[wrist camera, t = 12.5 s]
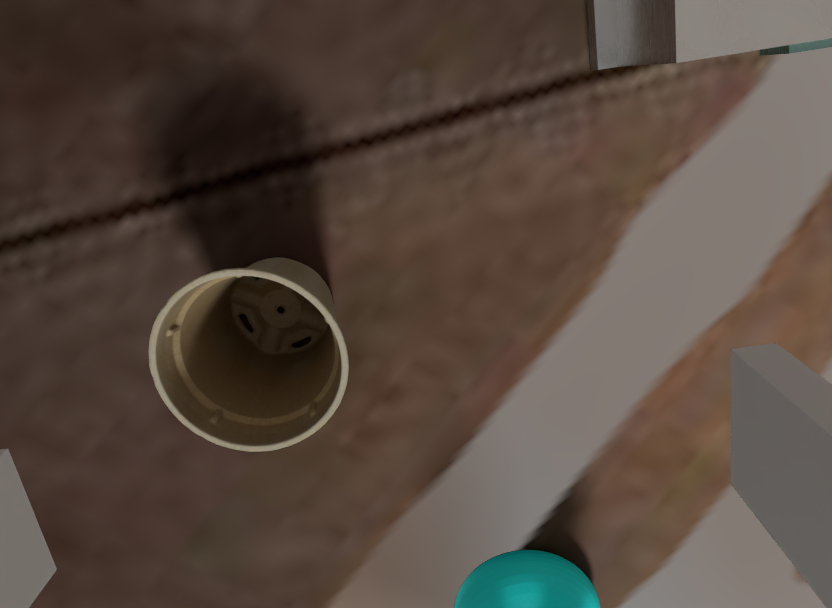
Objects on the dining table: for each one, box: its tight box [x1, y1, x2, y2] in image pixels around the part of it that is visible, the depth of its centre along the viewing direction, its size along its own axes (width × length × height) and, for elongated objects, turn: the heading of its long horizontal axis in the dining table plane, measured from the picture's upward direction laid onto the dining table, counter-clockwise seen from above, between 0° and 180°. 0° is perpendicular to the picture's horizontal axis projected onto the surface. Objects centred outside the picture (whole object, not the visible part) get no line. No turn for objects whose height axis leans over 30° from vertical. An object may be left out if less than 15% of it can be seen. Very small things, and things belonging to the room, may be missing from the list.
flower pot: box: [149, 257, 349, 452], centre depth 35 cm, size 9×9×9 cm
